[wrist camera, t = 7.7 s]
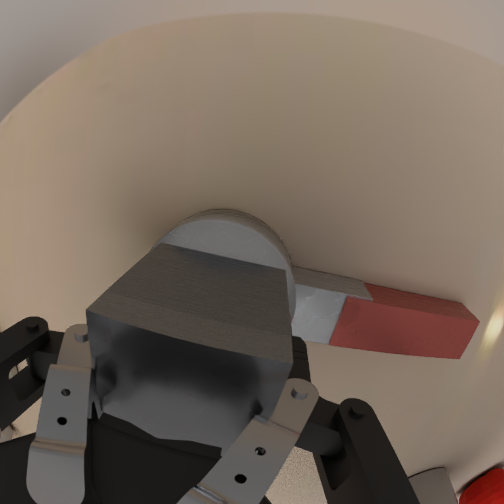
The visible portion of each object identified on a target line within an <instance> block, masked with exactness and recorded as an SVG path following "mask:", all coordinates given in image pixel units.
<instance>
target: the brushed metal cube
mask: <svg viewBox="0 0 504 504" xmlns="http://www.w3.org/2000/svg"><path fill="white" fill-rule="evenodd" d="M86 318H87V329H88V337H89V345H90V353H91V355H93V356H96V361H97V378H96V385H97V393H98V396H99V397H101V398H103V402H104V412H105V413H107V414H110V415H112V416H115V417H117V418H120V419H123V420H125V421H128V422H131V423H132V424H134V425H135V426H137V427H139V428H140V429H142V430H144V431H146V432H147V433H149V434H151V435H153V436H154V437H156V438H161V439H172V440H188V441H194V442H199V443H203V444H207V445H212V446H217V447H221V448H222V451H221V456H223V455H224V454H225V453H226V452H227V450H228V449H229V448H230V447H231V445H232V444H233V443H234V442H235V441H236V439H237V438H238V437H239V436H240V434H241V433H242V432H243V431H244V429H245V428H246V427H247V425H248V424H249V423H250V422H251V420H252V419H253V418H254V417H255V416H256V415H257V414H258V415H260V414H261V413H262V411H263V410H264V409H265V407H266V406H267V405H268V403H270V404H277V403H278V401H279V398H280V396H281V393H282V391H283V388H284V386H285V383H286V381H287V378H288V376H289V373H290V371H291V368H292V365H293V352H292V338H291V324H290V312H289V300H288V288H287V277H286V270H284V269H279V268H275V267H270V266H265V265H261V264H256V263H252V262H247V261H243V260H238V259H234V258H229V257H224V256H220V255H215V254H211V253H206V252H202V251H198V250H193V249H189V248H184V247H180V246H175V245H171V244H166V243H162V242H161V243H160V244H158V245H157V246H156V247H155V248H154V249H153V250H151V251H150V252H149V253H148V254H147V255H146V256H144V257H143V258H142V259H141V260H140V261H139V262H138V263H136V264H135V265H134V266H133V267H132V268H131V269H130V270H128V271H127V272H126V273H125V274H124V275H123V276H122V277H121V278H120V279H118V280H117V281H116V282H115V283H114V284H113V285H112V286H111V287H110V288H109V289H107V290H106V291H105V292H104V293H103V294H102V295H101V296H100V297H99V298H98V299H97V300H96V301H95V302H93V303H92V304H91V305H90V306H89V307H88V308H87V309H86Z"/></svg>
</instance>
